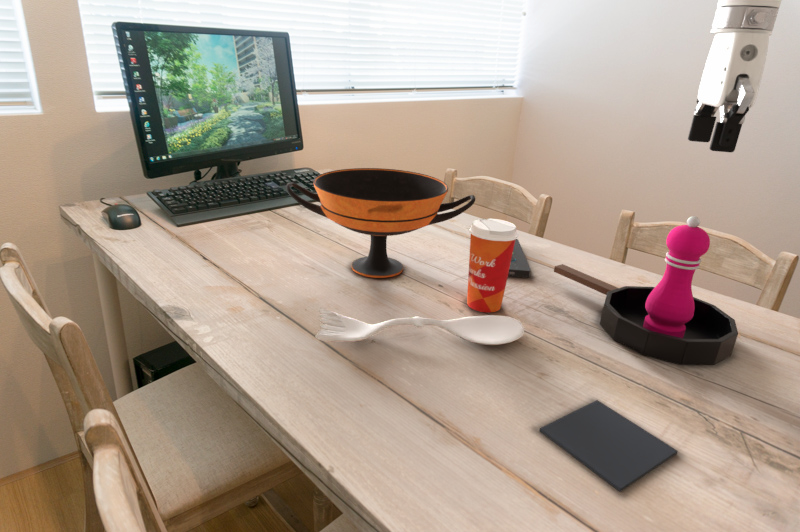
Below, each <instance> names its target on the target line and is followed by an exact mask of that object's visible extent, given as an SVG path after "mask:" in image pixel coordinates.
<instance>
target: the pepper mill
mask: <svg viewBox="0 0 800 532" xmlns="http://www.w3.org/2000/svg"><path fill="white" fill-rule="evenodd" d="M700 223H701V220H700V218H699V217H698V216H695V215H693V216H690V217H688V218H687V220H686V224H680V225H677V226H675V227H673V228H671V230H670V231H669V233H667V236H666V241H665V243H666V247H667V249H668V251H667V252H666V253H665V258H664V262H665V263H666V266H665V270H664V273H663V276H662V277H661V279H660V281H659V282H658V283H657V284H656V286H654V287H655V288H654V289H653V290H652V291H651V293H650V294H649V296H648V298H647V300H646V303H645V308H646V310H647V312H648V314H649V315H647V316H646V317H645V319H644V323H643V327H644V328H646V329H648V330H651V331H655V332H659V333H663V334H667V335H671V336H675V337H680V338H683V337H684V333H685V330H686V326H685V323H687V322H688V321H690V320H691V319H692V318H693V315H694V310H695V306H694V299H693V297H694V296H693V289H692V283H693V278H694V274H695V272H696V270H698V269H699V268H700V267H701V265H700V263H702V258H701V257H702V256H704V255H705V254H707V252H709V249H710V246H711V239H710V235H709V234H708V233H707V231H705V230H704V229H703V228H702V227H699V226H700Z"/></svg>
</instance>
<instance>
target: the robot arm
mask: <svg viewBox="0 0 800 532" xmlns="http://www.w3.org/2000/svg"><path fill="white" fill-rule="evenodd" d="M781 4H782V0H718V1H717V5H716V9H715V13H714V17H713V20H712V23H711V28H710V32H709V33H710V34H712V35H714V37H713V40H712V42H711V43H712V44H711V46H710V49H709V52H708V55H707V59H706V61H705V65H704V67H703V71H702V76H701V79H700V83H699V86H698V91H697V99H696V107H695V108H694V111H693V117H692V120H691V125H690V127H689V128H690V129H689V132H688V136H687V140H688V142H699V143H709V142H710V145H709V150H710V151H712V152H719V153H734V152H735V150H736V147H737V144H738V140H739V137H740V133H741V129H742V127H743V125H744V123H745V121H746V115H747V114H748V113H749V111H750V109H751V108H753V107H754V106H755V104H756V100H757V97H758V93H759V90H760V85H761V82H762V77H763V73H764V69H765V65H766V62H767V61H766V60H767V55H768V54H767V53H768V48H769V42H770V37H771V36H772V33H773V30H774V27H775V23H776V20H777V18H778V13H779V10H780V6H781ZM718 110H719V121H717V116H715V115H716V113H717V112H718ZM714 127H715V128H714Z"/></svg>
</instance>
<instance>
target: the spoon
mask: <svg viewBox="0 0 800 532" xmlns="http://www.w3.org/2000/svg"><path fill="white" fill-rule="evenodd" d="M317 313H318V314H319V315H318V317H319V319H318V320H319V322H320V323H322V324H320V325H319V327H320V328H319V329H318V332H317V334H315V336H314V337H315V339H316V340H318V341H322V342H360V341H364V340H367V339H369V338H370V337H373V336H375V335H376V334H378V333H380V332H383V331H384V330H387V329H390V328H392V327H399V326H409V327H415V328H424V326H431V327H432V326H433V327H437V328H439V329H442V330H445V331H447V332H449V333H451V334H453V335H454V336H456V337H459V338H461V339H462V340H465V341H468V342H470V343H474V344H478V345H483V346H484V345H486V346H499V345H505V344H509V343H513V342H514V341H517V340H519V339H521V338H522V337H523V336H524V334H525V326H524V325H523V323H522V321H520V320H519V319H517V318H514V317H512V316H507V315H496V314H495V315H494V314H493V315H492V314H485V315H474V316H473V315H472V316H463V317H457V318H452V319H448V320H446V319H445V320H444V319H436V318H429V317H422V316H420V315H415V316H413V317H398V318H392V319H388V320H385V321H381V322H378V323H374V324H371V323H366V322H363V321H362V320H359V319H356V318H353V317H349V316H346V315H343V314H341V313H338V312H335V311H333V310H331V309H328V308H324V307H319V308H317Z"/></svg>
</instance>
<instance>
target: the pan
mask: <svg viewBox="0 0 800 532" xmlns="http://www.w3.org/2000/svg"><path fill="white" fill-rule="evenodd" d="M553 272H554V273H556V274H557V275H558V274H559V275H561V276H563V277H565V278H567V279H570V280H572V281H574V282H576V283H578V284H581V285H583V286H585V287H587V288H590V289H592V290H594V291H596V292H598V293H601V294H603V295H605V298H604V302H603V306H602V311H601V316H600V320H599V326H600V327H602V329H603V330H604V331H605V332H606V333H607V335H609V337H610V338H611V339H612V340H613V341H615V342H616V343H619V344H621V345H622V346H624V347H627V348H628V349H630V350H633V351H634V352H636V353H637V354H640V355H642V356H645V357H649V358H653V359H656V360H661V361H665V362H669V363H673V364H677V365H682V366H715V365H717V364H718V363H720V362H722V361H724V360H725V359H728V358H729V357H731V356H732V353H733V349H734V347H735V344H736V342H737V338H738V335H739V331H738V328H737V323H736V320H735V319H734V318H733V317H732V316H730V315H729V314H727V313H726V312H725V311H723V310H722V309H720V308H719V307H718V306H716V305H714V304H713V303H710V302H707V301H705V300H703V299H701V298H700V299H699V298H698V297H695V296H693V299H694V306H695V310H694V315H693V318H692V319H691V320H690V321H688V322H687V323H685V326H686V330H685V333H684V337H683V338H680V337H675V336H671V335H667V334H663V333H659V332H655V331H651V330H648V329H646V328H644V327H643V323H644V319H645V317H646V316H647V315H649V314H648V312H647V310H646V308H645V303H646V300H647V298H648V296H649V294H650V293H651V291H652V290H653V289H654V288H655V287H656V286H642V285H641V286H639V285H637V286H634V285H633V286H632V285H624V286H621V287H617V286H615V285H612V284H611V283H608V282H605V281H603V280H601V279H599V278H596V277H594V276H591V275H590V274H587V273H585V272H583V271H579V270H578V269H575V268H573V267H570V266H568V265H566V264H563V263H561V264H558V265H554V268H553Z"/></svg>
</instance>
